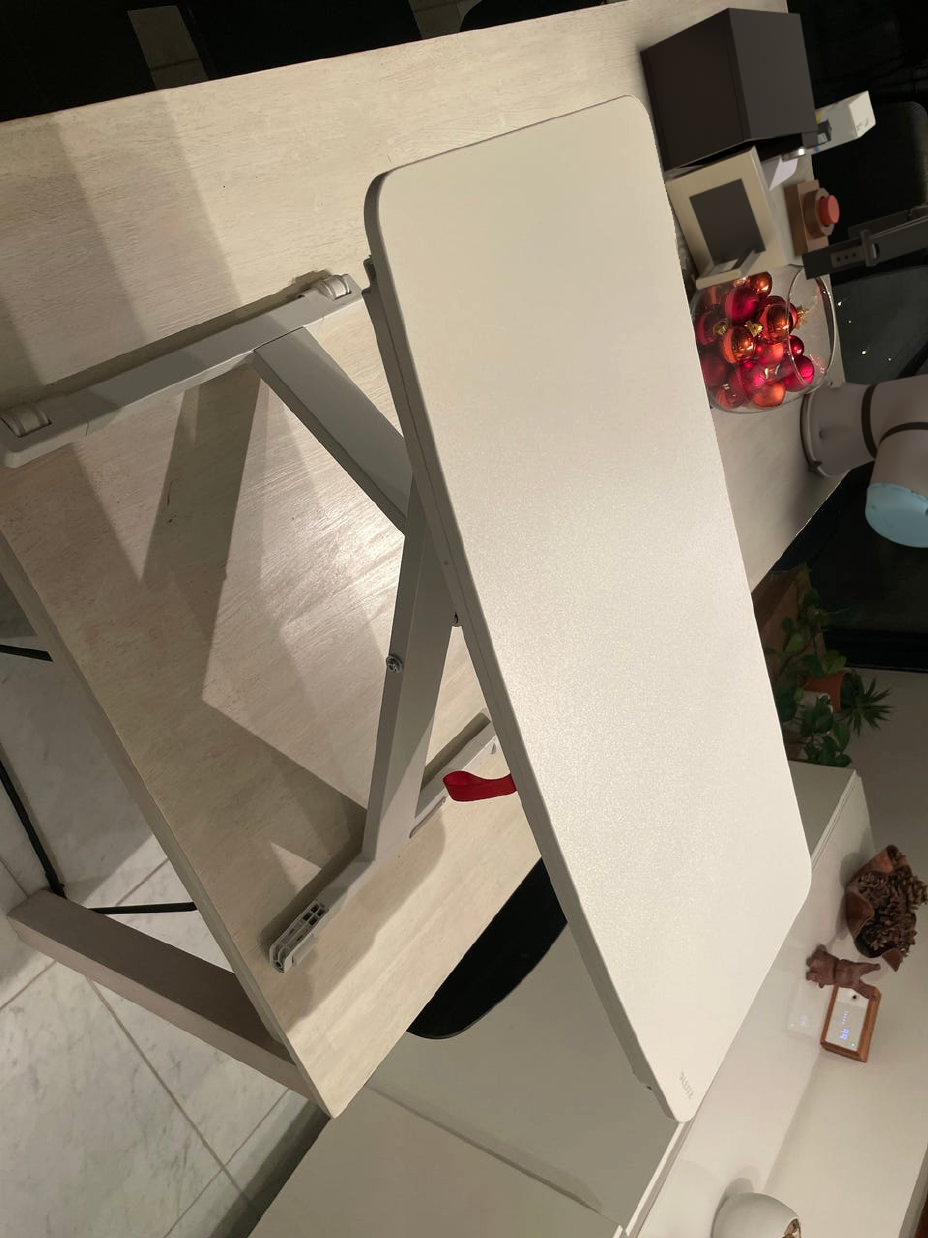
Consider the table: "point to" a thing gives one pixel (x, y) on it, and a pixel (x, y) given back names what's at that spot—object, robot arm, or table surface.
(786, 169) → the wedge on round base
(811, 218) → the box
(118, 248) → the table surface
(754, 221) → the door
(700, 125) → the box
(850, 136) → the ink box
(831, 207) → the button
